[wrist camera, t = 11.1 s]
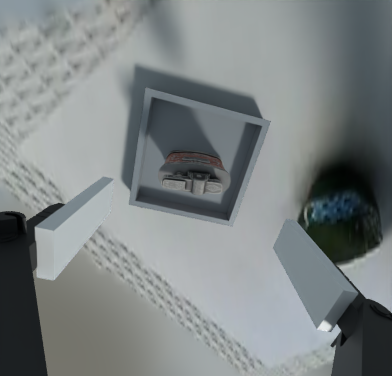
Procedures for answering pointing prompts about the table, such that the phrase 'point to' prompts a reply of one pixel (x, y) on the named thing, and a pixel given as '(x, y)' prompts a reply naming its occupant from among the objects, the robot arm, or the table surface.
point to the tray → (194, 140)
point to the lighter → (194, 172)
